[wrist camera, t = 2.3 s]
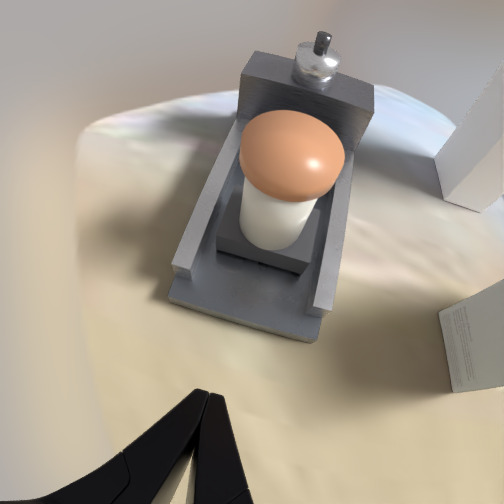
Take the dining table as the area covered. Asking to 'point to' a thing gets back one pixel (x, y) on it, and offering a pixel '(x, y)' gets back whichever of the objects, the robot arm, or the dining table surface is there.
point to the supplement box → (475, 340)
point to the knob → (280, 189)
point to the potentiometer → (316, 63)
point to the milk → (476, 152)
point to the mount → (230, 174)
